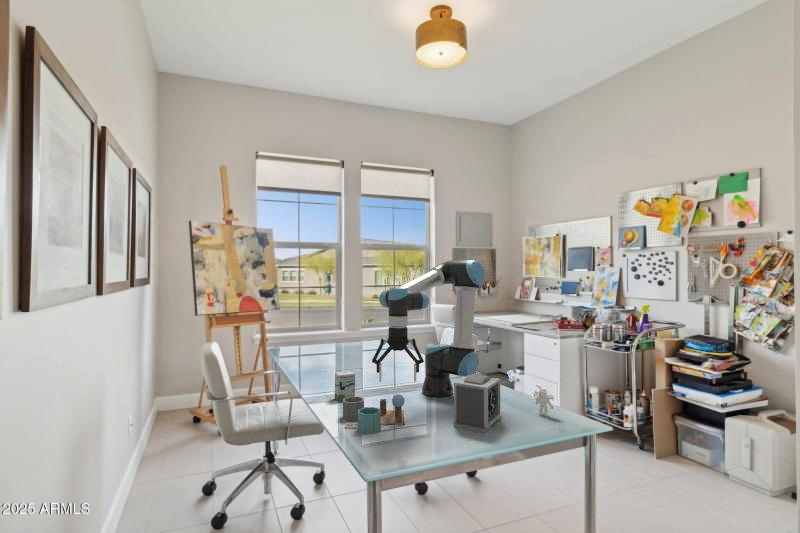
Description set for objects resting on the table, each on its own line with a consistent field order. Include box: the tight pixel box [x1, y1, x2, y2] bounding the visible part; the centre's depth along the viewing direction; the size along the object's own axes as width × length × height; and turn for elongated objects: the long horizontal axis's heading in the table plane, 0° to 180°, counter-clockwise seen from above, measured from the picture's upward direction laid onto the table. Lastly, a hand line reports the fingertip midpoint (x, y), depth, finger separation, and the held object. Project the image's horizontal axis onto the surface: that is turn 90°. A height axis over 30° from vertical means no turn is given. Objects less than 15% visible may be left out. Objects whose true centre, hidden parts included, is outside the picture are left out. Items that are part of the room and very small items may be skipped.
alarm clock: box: [452, 373, 502, 434], centre depth 166 cm, size 18×13×18 cm
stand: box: [379, 398, 406, 426], centre depth 172 cm, size 11×16×6 cm
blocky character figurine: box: [533, 384, 555, 417], centre depth 175 cm, size 9×4×12 cm, turn 37°
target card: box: [343, 422, 358, 429], centre depth 163 cm, size 7×5×1 cm
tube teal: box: [357, 406, 382, 435], centre depth 159 cm, size 8×8×7 cm
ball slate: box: [391, 393, 406, 408], centre depth 167 cm, size 5×5×5 cm
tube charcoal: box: [342, 396, 365, 422], centre depth 173 cm, size 8×8×7 cm
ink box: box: [334, 371, 356, 402], centre depth 198 cm, size 9×5×12 cm, turn 117°
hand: (397, 380), depth 167 cm, fingers open, 13 cm apart
